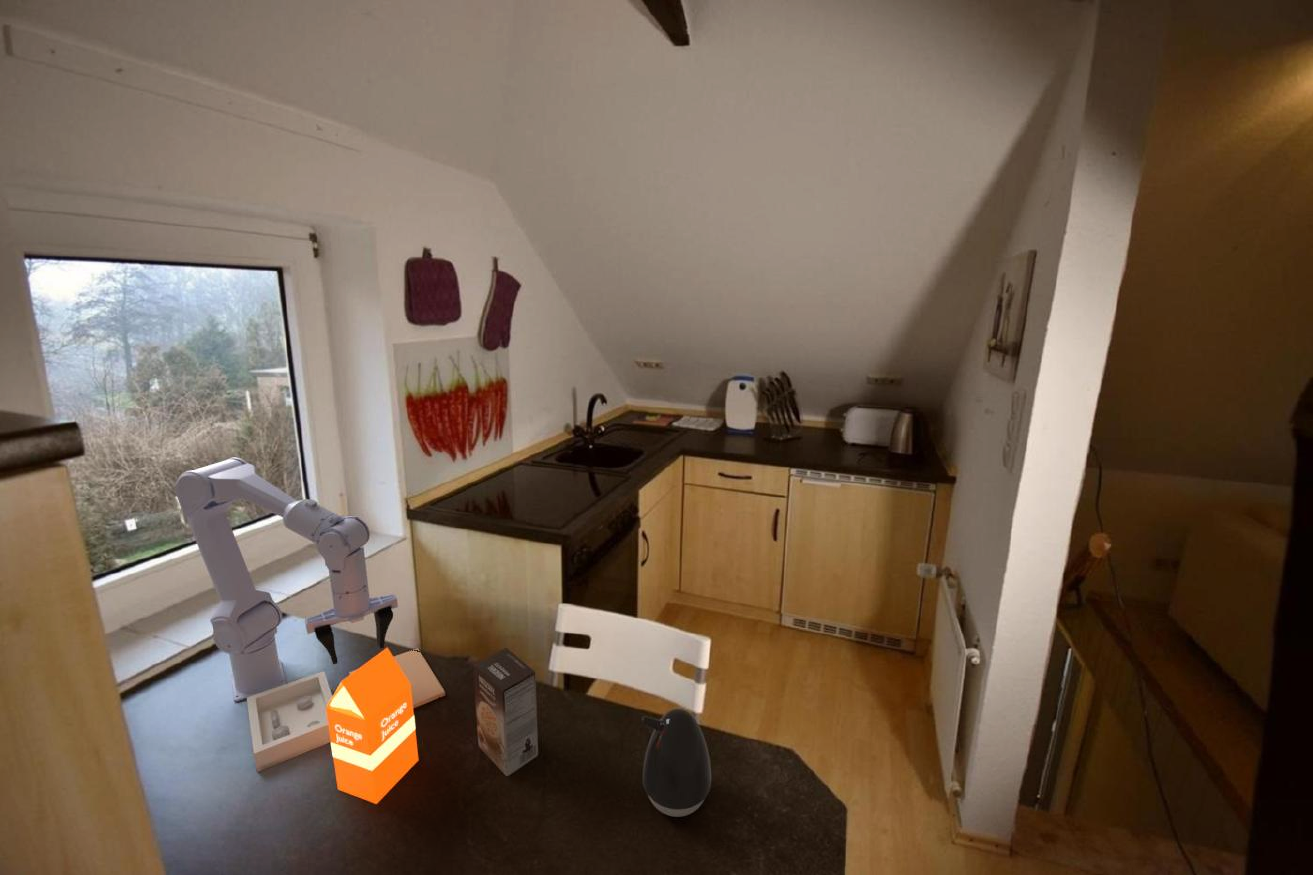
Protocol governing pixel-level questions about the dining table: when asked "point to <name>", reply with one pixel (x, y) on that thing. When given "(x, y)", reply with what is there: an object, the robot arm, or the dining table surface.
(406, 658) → the lid
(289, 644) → the dining table surface
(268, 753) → the parts tray
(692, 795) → the pump dispenser
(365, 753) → the orange juice
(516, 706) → the coffee box
